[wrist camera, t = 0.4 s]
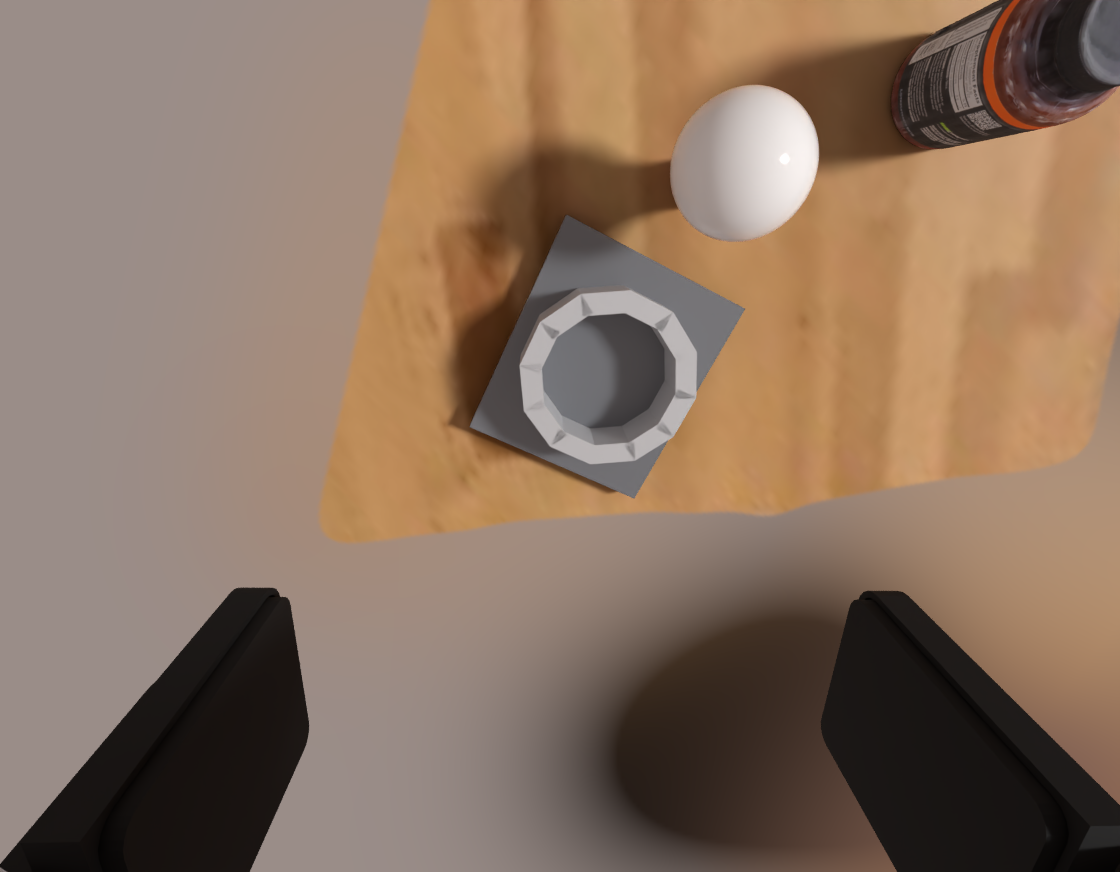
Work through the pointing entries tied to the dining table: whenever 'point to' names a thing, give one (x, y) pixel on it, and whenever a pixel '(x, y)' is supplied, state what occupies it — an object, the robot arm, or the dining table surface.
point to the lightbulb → (744, 163)
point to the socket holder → (603, 359)
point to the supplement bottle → (1008, 71)
